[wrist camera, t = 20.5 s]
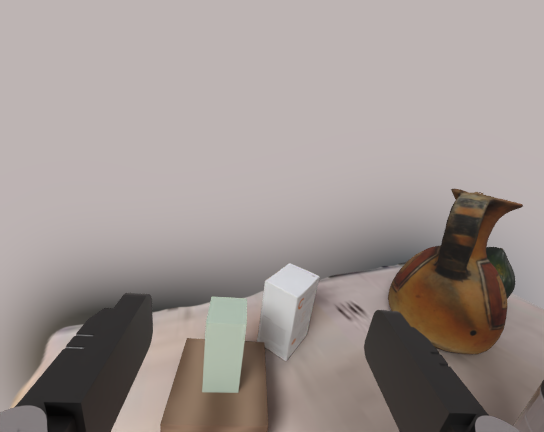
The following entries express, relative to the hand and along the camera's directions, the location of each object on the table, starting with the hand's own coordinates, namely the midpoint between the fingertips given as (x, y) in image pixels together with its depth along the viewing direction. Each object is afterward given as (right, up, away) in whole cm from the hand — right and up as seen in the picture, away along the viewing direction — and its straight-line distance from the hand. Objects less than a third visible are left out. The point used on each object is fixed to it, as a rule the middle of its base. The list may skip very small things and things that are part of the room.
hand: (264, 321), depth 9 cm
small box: (+2, -19, +38) cm, 43 cm away
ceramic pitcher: (+35, -20, +46) cm, 61 cm away
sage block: (-6, -18, +26) cm, 32 cm away
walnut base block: (-7, -21, +27) cm, 35 cm away
